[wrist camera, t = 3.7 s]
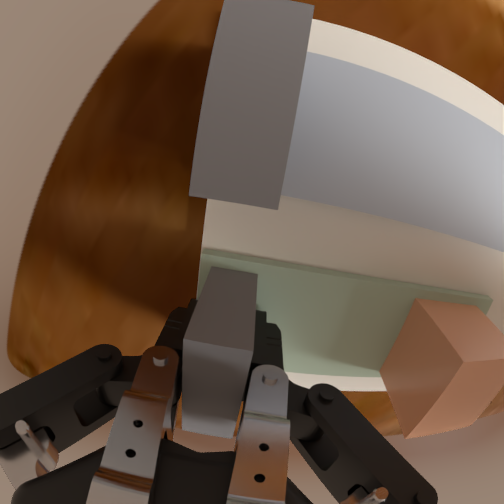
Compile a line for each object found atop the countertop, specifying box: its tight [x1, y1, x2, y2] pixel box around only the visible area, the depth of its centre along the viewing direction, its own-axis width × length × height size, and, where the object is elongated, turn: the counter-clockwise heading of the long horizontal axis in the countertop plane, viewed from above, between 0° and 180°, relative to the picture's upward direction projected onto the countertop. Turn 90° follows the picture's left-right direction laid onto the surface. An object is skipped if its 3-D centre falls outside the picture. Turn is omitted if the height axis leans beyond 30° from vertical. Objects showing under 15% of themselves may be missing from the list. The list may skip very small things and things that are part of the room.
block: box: [379, 298, 504, 439], centre depth 11 cm, size 5×5×5 cm
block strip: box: [182, 248, 493, 439], centre depth 11 cm, size 17×6×6 cm, turn 80°
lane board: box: [197, 19, 504, 391], centre depth 13 cm, size 25×19×1 cm
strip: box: [189, 0, 504, 252], centre depth 8 cm, size 17×6×6 cm, turn 80°
